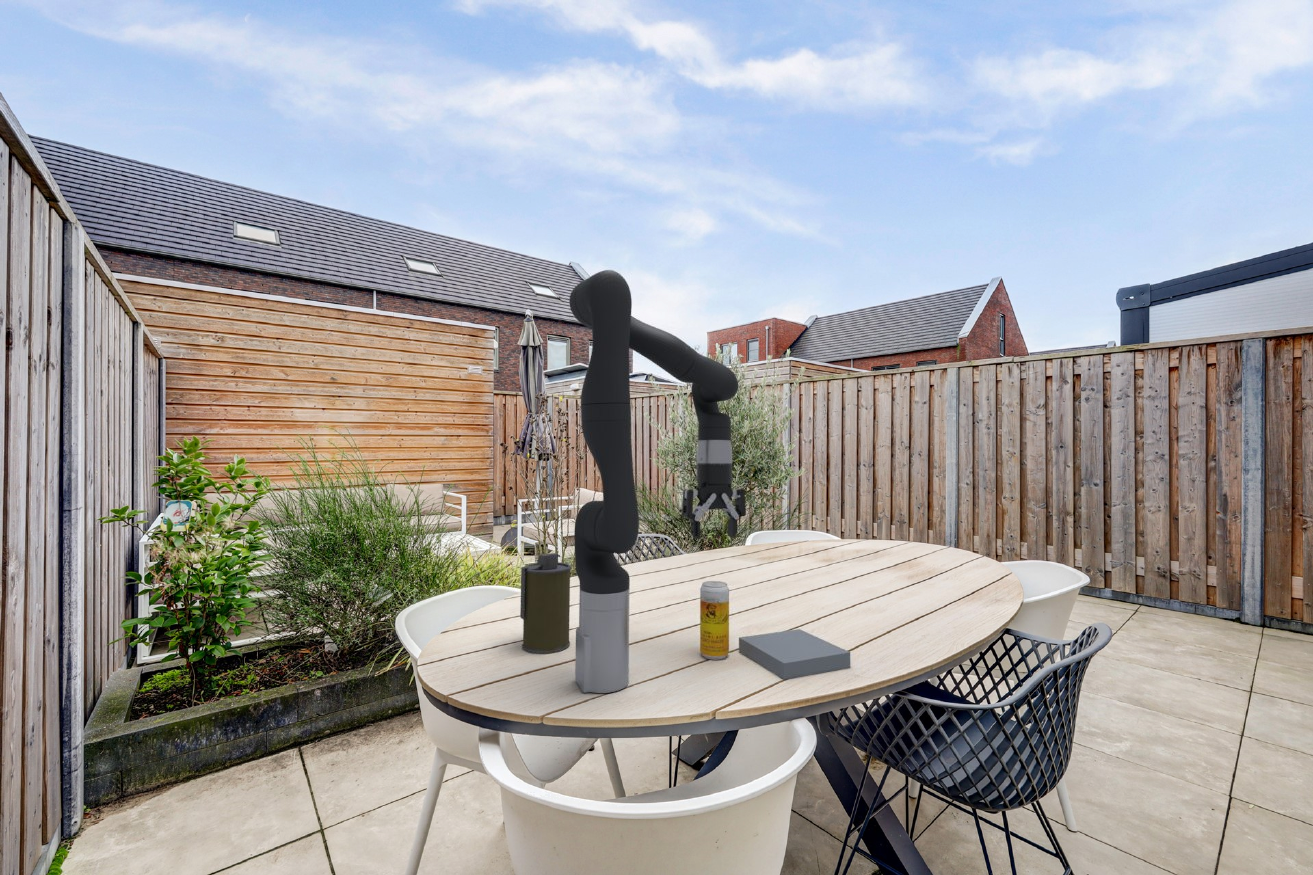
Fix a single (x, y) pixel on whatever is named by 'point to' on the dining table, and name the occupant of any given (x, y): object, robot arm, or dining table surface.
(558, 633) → the canister
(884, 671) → the dining table surface
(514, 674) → the dining table surface
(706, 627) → the beer can
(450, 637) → the dining table surface
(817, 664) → the stand
